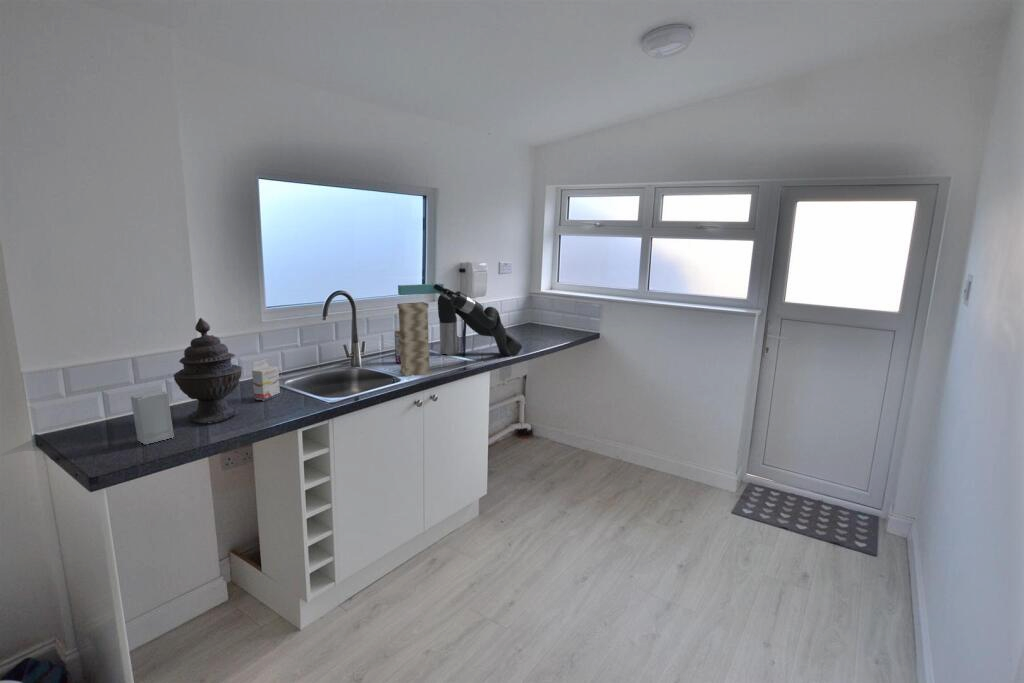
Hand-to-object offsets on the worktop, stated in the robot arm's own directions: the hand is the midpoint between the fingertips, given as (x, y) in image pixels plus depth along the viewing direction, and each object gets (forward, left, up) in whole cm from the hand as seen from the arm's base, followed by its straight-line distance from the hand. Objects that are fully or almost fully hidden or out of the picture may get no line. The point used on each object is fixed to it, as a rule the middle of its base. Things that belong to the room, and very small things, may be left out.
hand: (432, 285), depth 243 cm
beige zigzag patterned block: (+10, -1, -40) cm, 41 cm away
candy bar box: (+3, -24, -40) cm, 47 cm away
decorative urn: (+93, +17, -40) cm, 103 cm away
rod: (+6, 0, -3) cm, 7 cm away
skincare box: (+110, +32, -40) cm, 121 cm away
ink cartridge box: (+73, +3, -40) cm, 83 cm away
